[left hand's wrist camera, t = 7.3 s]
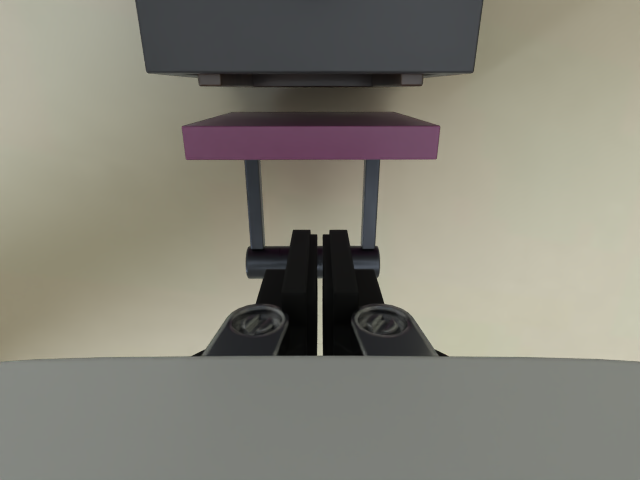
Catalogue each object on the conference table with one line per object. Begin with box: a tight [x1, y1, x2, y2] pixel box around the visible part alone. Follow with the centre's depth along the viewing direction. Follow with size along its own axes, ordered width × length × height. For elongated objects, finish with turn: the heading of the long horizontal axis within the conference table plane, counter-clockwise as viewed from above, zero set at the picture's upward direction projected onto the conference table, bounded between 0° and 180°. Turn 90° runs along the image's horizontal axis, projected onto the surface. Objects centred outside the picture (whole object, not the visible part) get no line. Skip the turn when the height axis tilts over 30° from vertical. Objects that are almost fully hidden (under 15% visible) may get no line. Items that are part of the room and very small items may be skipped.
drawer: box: [182, 74, 440, 279], centre depth 17 cm, size 20×9×9 cm, turn 0°
